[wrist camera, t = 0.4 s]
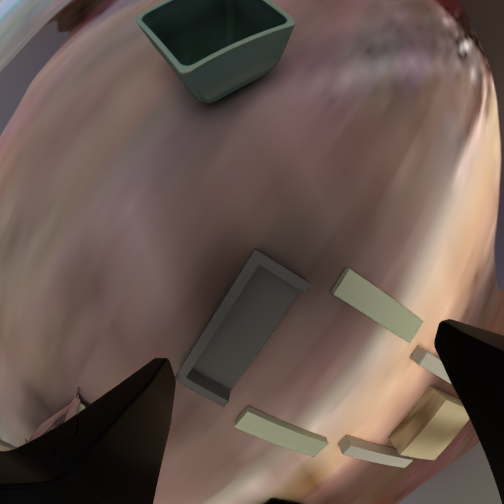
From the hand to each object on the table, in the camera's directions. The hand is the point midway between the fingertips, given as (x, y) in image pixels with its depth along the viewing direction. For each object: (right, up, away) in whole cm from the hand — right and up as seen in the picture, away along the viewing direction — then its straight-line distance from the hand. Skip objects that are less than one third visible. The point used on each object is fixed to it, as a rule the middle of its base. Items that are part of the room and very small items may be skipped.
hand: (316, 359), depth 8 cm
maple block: (+20, -18, +16) cm, 31 cm away
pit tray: (-3, -3, +15) cm, 16 cm away
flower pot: (-5, +20, +15) cm, 25 cm away
